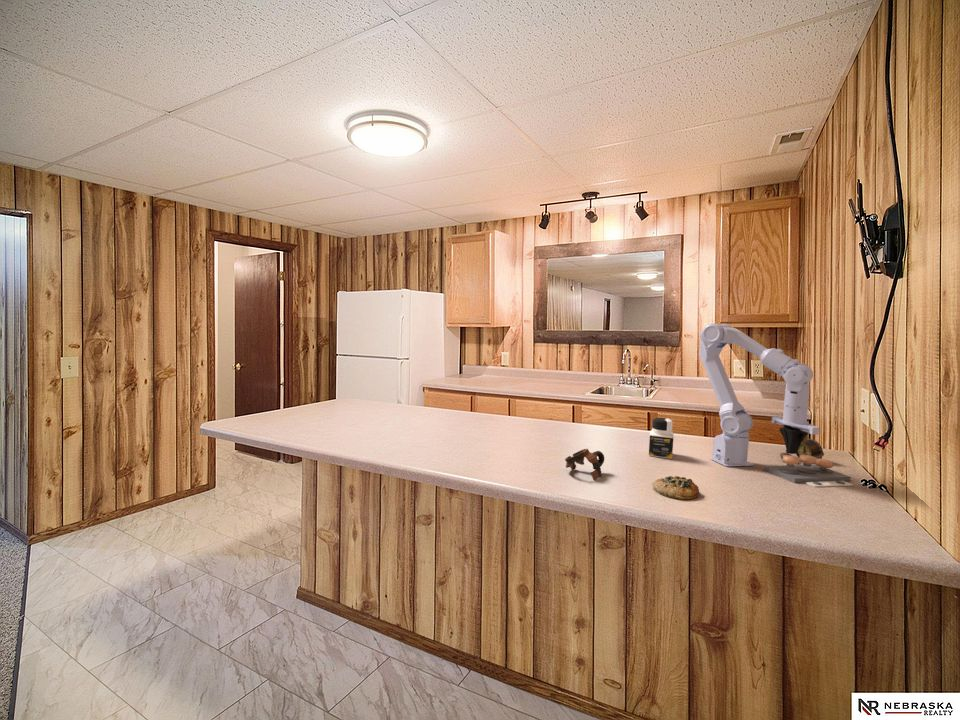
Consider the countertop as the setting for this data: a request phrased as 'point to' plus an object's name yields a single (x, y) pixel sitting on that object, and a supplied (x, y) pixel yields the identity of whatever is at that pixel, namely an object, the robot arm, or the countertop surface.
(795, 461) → the button
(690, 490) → the bread roll
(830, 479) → the board
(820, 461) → the button
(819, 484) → the card
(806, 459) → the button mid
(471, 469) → the countertop surface
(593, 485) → the countertop surface
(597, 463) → the brown jointed linkage
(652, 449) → the medicine bottle
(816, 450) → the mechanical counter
